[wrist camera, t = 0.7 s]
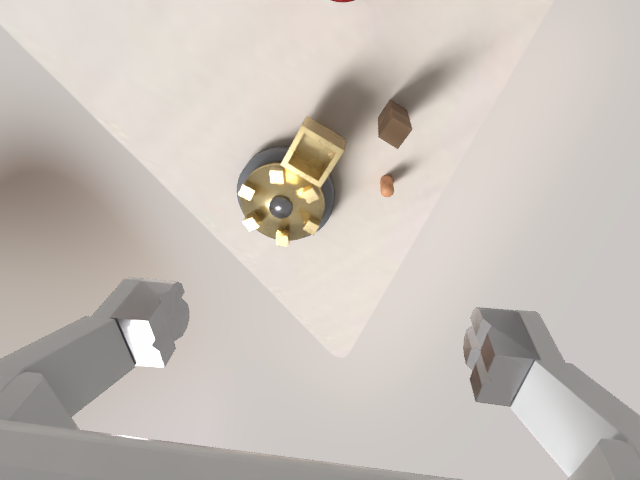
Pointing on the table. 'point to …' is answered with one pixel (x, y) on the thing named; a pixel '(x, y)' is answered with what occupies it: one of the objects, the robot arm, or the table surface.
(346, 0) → the soda can
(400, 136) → the brown wooden peg
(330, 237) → the table surface
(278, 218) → the rotary feeder
